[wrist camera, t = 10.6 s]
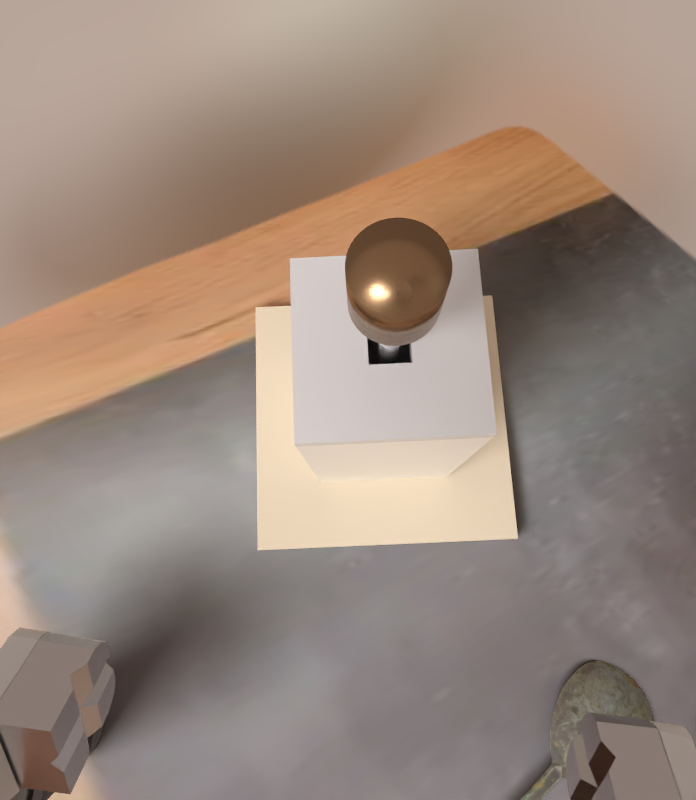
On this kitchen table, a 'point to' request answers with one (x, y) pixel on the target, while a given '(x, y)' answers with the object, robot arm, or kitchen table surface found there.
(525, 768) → the kitchen table surface
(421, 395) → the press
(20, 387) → the kitchen table surface
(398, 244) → the plunger
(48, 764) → the robot arm
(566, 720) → the soupspoon
